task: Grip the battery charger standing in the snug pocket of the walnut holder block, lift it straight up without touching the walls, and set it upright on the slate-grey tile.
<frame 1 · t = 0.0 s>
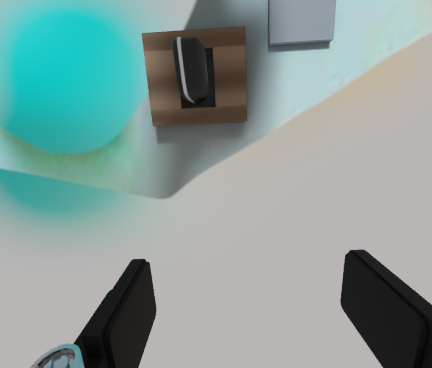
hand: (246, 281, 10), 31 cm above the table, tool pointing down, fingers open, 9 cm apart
battery charger: (198, 83, 37), resting in holder
tile: (300, 8, 34), on the table
holder: (198, 83, 37), on the table
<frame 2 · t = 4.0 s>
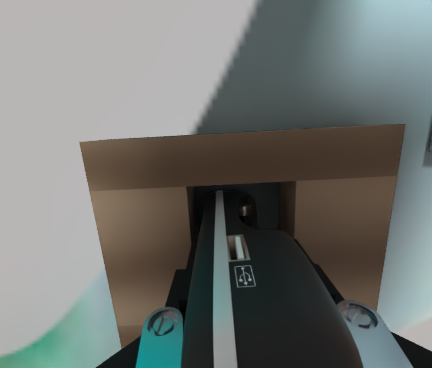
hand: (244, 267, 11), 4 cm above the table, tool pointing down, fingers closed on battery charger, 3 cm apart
battery charger: (237, 232, 15), resting in holder, touching gripper
holder: (238, 233, 15), on the table
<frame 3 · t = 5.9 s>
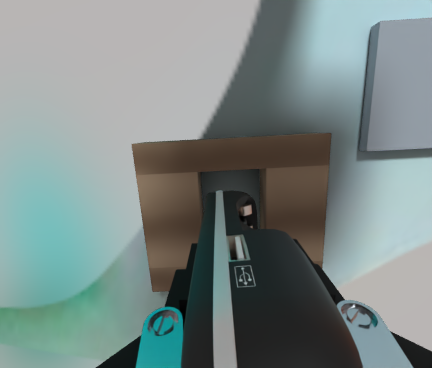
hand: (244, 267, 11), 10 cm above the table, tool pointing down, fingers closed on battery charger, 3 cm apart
battery charger: (238, 232, 15), point 6 cm above the table, touching gripper
tile: (423, 89, 19), on the table
holder: (231, 207, 21), on the table
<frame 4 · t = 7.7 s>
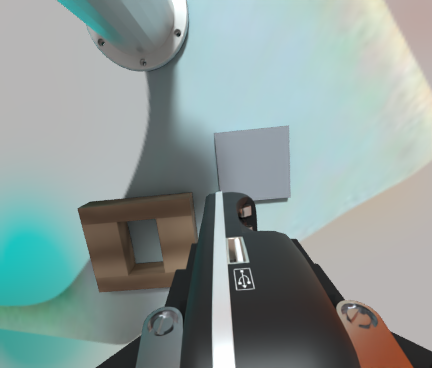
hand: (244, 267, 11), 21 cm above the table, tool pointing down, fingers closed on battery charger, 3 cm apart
battery charger: (237, 233, 15), point 17 cm above the table, touching gripper
tile: (252, 165, 31), on the table
holder: (148, 238, 34), on the table
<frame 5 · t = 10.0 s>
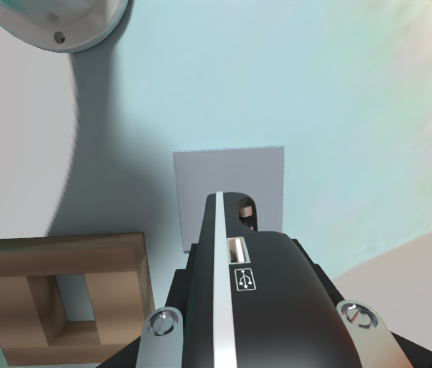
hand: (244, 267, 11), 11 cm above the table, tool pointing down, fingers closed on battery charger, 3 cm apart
battery charger: (238, 233, 15), point 7 cm above the table, touching gripper
tile: (229, 198, 22), on the table
holder: (83, 290, 24), on the table
when the fingers open (6 cm above the table, at t = 11.7 s): battery charger stays where it is, resting on tile.
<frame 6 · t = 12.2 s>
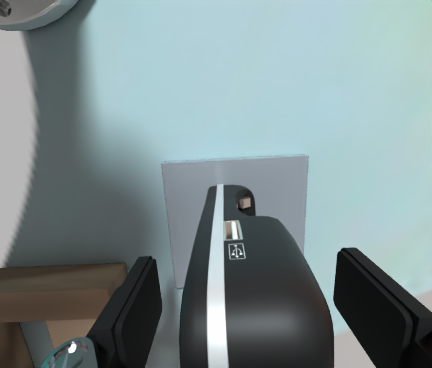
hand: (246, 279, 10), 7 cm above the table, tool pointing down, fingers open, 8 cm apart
battery charger: (237, 224, 16), point 1 cm above the table, touching tile
tile: (235, 221, 17), on the table
holder: (52, 332, 20), on the table
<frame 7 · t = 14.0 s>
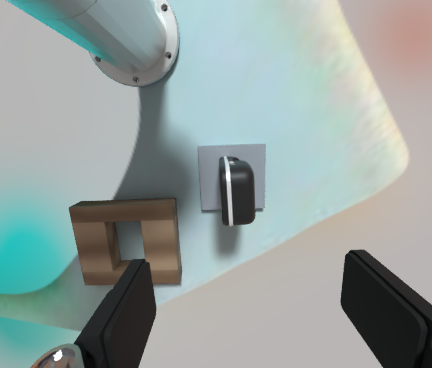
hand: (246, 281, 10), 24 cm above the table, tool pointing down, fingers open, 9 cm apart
battery charger: (232, 177, 33), point 1 cm above the table, touching tile
tile: (231, 176, 34), on the table
holder: (133, 237, 37), on the table
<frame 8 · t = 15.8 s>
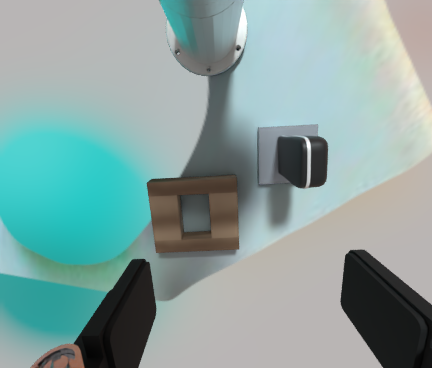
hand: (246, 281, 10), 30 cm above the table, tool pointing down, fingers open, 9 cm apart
battery charger: (288, 154, 38), point 1 cm above the table, touching tile
tile: (286, 154, 39), on the table
holder: (196, 211, 42), on the table
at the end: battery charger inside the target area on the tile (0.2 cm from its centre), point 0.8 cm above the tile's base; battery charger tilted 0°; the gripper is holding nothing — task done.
